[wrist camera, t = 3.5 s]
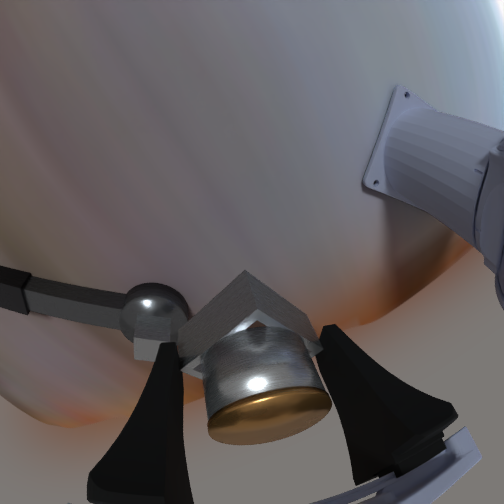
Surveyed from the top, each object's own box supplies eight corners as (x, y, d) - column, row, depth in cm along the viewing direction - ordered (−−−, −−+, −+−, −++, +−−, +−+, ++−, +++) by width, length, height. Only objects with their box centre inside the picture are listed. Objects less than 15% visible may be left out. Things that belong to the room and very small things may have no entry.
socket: (307, 314, 14) (351, 403, 9) (243, 362, 15) (265, 448, 10) (244, 267, 11) (282, 381, 7) (176, 330, 13) (182, 435, 8)
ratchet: (192, 288, 20) (194, 330, 16) (183, 334, 22) (185, 375, 19) (-34, 245, 13) (-58, 273, 10) (-21, 292, 16) (-39, 321, 12)
